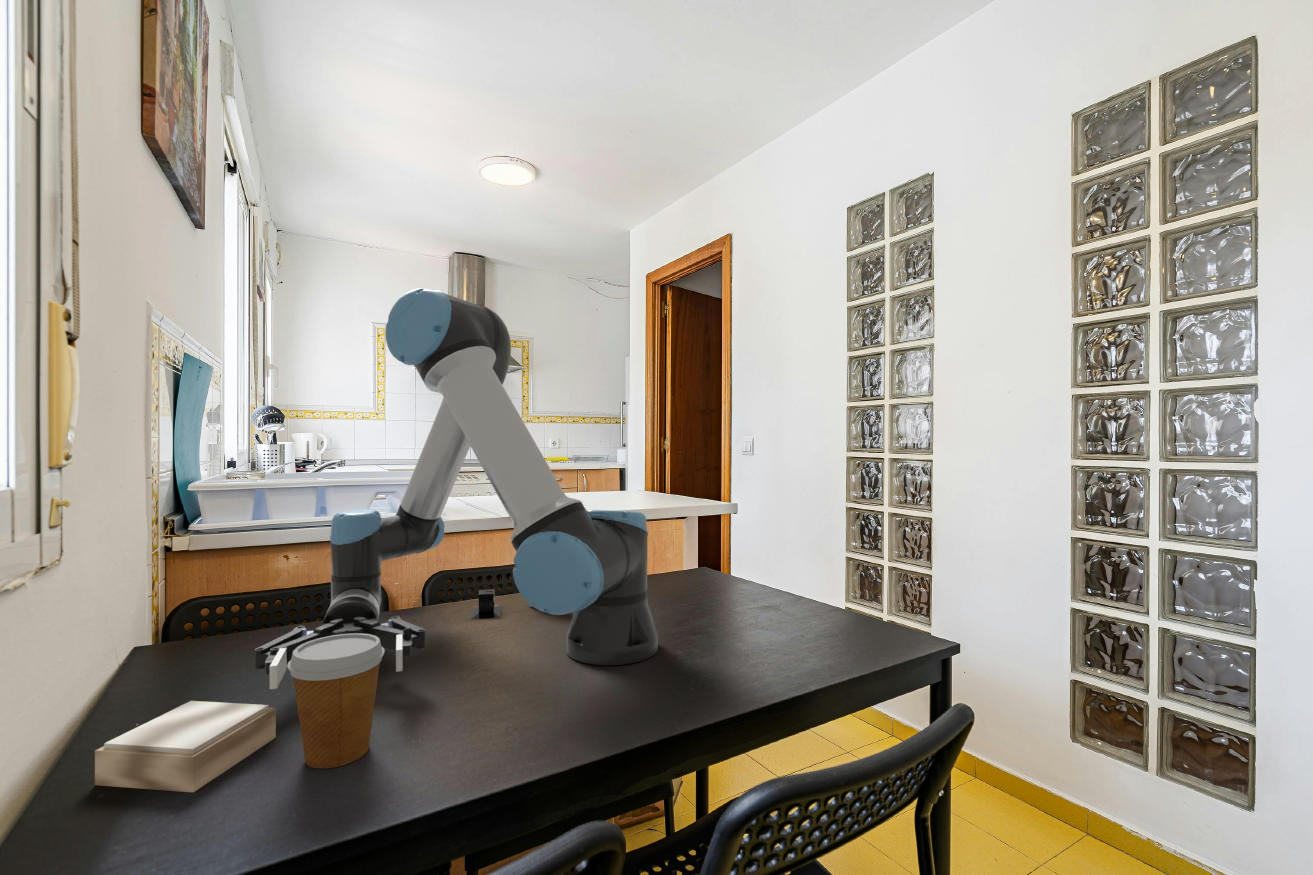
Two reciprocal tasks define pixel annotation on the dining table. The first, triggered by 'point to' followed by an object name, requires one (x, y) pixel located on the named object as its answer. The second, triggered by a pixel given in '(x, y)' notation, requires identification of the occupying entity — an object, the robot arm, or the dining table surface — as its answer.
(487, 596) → the black block on base
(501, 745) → the dining table surface
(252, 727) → the plinth
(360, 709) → the disposable coffee cup
